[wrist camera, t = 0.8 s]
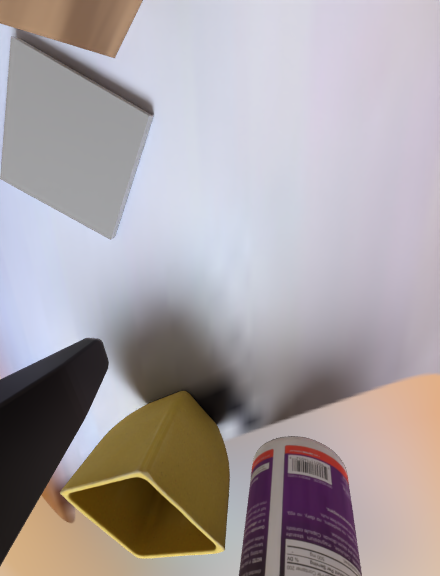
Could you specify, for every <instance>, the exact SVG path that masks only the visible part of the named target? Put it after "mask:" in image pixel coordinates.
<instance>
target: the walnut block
mask: <svg viewBox="0 0 440 576" xmlns="http://www.w3.org/2000/svg"><path fill="white" fill-rule="evenodd" d="M142 1H143V0H0V23H1V24H4V25H8V26H11V27H14V28H17V29H21V30H24V31H27V32H31V33H34V34H37V35H40V36H44V37H47V38H50V39H54V40H57V41H60V42H63V43H67V44H70V45H73V46H77V47H80V48H83V49H86V50H90V51H93V52H96V53H99V54H103V55H106V56H109V57H113V58H115V56H116V54H117V52H118V50H119V48H120V46H121V44H122V42H123V40H124V38H125V36H126V34H127V32H128V30H129V28H130V26H131V23H132V21H133V19H134V17H135V15H136V13H137V11H138V9H139V7H140V5H141V3H142Z"/></svg>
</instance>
